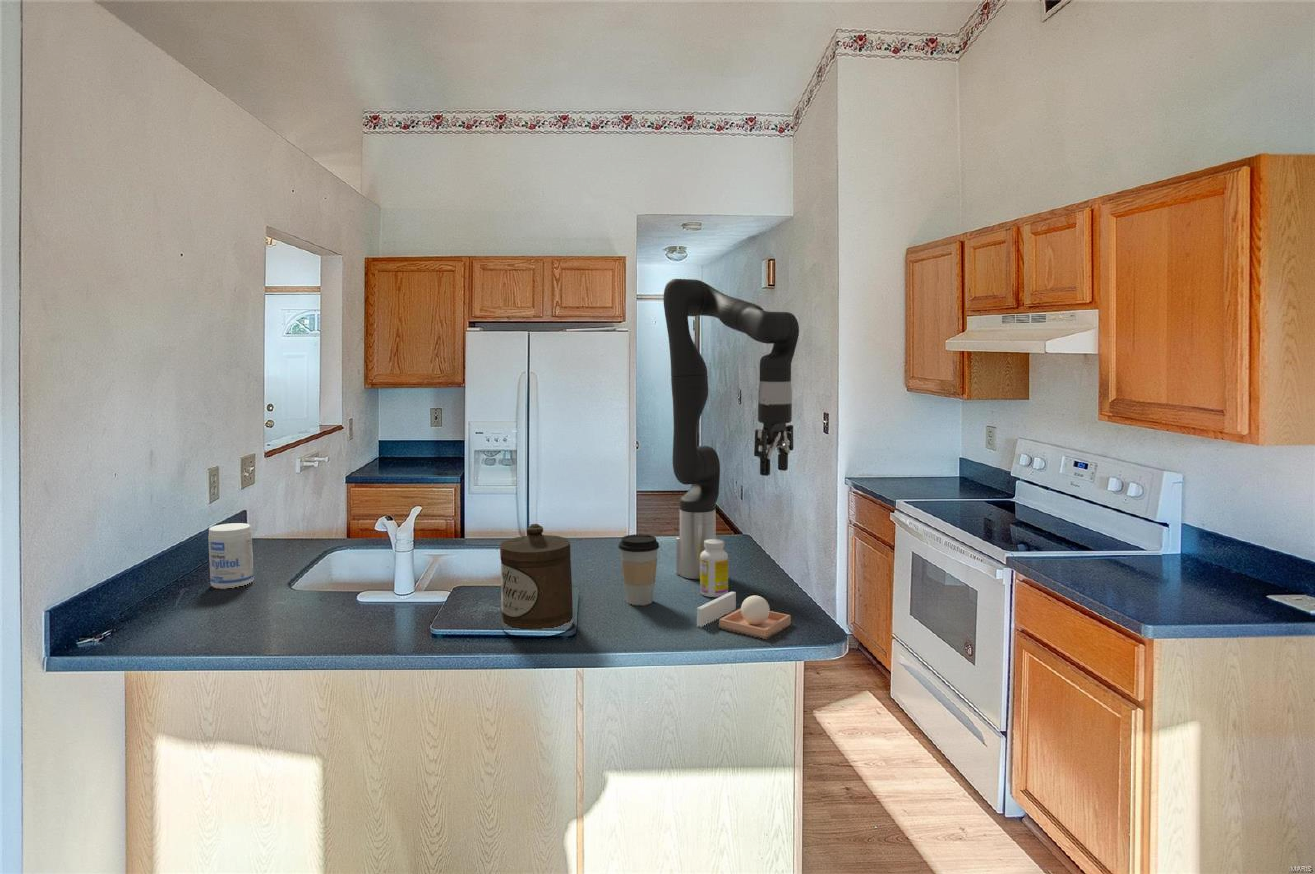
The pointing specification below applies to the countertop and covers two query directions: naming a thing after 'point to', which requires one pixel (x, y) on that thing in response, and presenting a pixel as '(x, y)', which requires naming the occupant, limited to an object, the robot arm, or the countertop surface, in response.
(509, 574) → the wooden container
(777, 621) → the dish
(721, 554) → the supplement bottle
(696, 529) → the robot arm
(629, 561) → the coffee cup
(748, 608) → the ball
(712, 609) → the wall
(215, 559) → the supplement tub
